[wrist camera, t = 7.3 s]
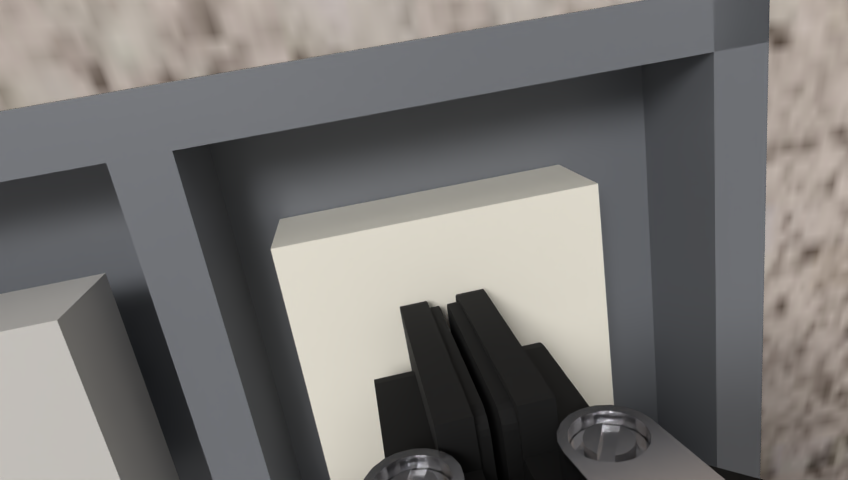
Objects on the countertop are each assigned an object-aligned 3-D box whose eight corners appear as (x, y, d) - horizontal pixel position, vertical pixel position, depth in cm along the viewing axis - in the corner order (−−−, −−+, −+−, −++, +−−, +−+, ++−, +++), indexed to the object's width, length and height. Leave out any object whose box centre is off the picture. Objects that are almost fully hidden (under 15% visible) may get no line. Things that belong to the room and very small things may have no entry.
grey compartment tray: (637, 1, 14) (769, -22, 10) (657, 427, 18) (758, 543, 14) (-846, 256, 11) (-1541, 376, 7) (-455, 694, 15) (-758, 942, 11)
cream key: (559, 164, 13) (598, 183, 11) (580, 402, 15) (617, 453, 13) (280, 219, 12) (270, 249, 10) (339, 458, 14) (340, 520, 12)
